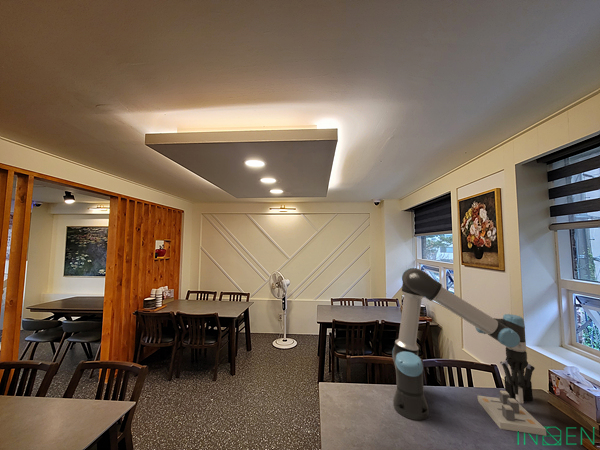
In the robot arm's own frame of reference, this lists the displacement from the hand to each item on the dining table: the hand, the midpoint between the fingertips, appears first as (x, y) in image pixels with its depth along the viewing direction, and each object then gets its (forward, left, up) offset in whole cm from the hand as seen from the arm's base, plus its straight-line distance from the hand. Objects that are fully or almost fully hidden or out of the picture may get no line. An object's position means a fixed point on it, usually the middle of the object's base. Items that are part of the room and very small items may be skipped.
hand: (519, 401), depth 112 cm
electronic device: (+5, +10, -4) cm, 12 cm away
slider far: (-6, 0, -1) cm, 6 cm away
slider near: (-11, -12, -1) cm, 16 cm away
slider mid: (-6, -6, -1) cm, 9 cm away
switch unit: (-8, -6, -4) cm, 11 cm away
